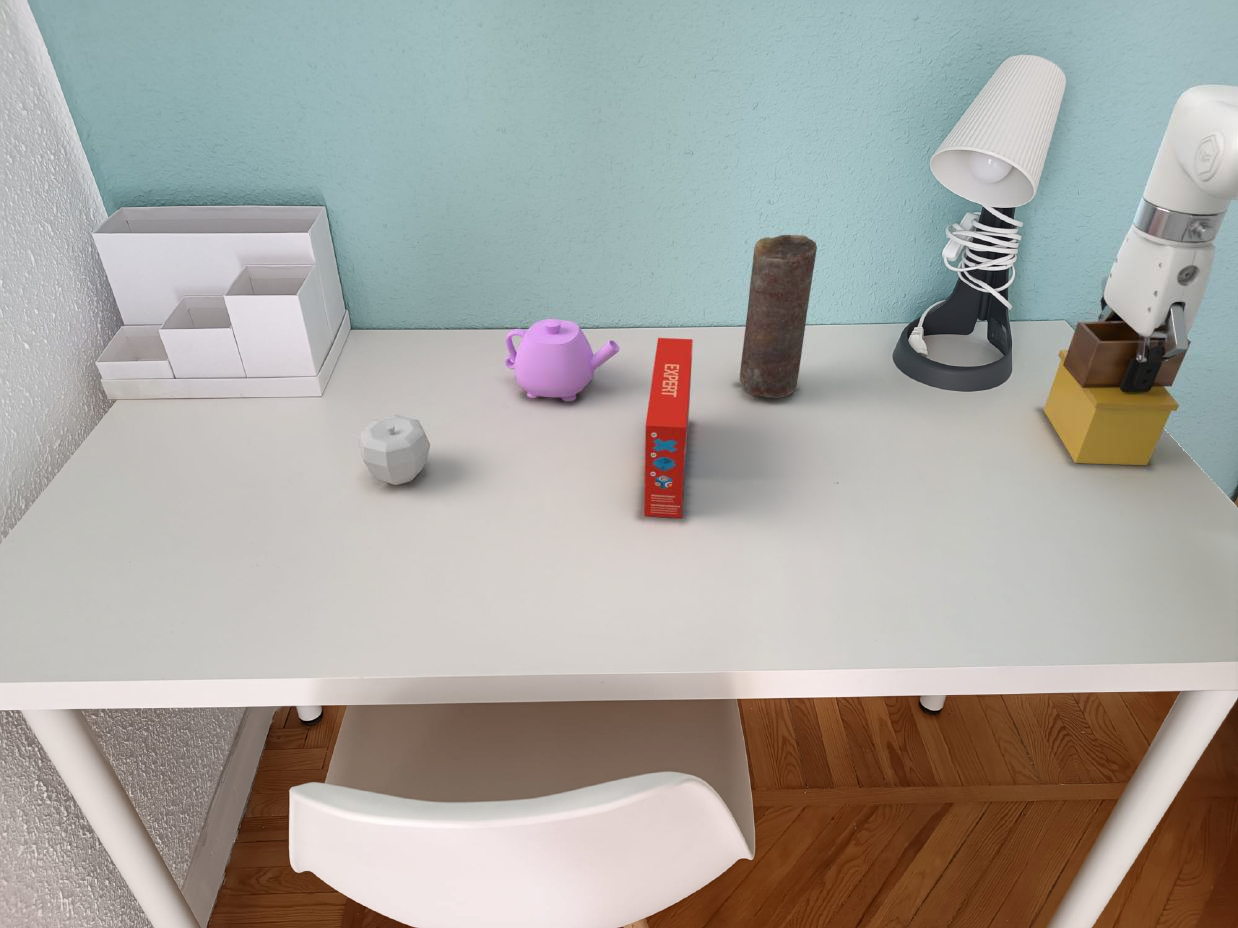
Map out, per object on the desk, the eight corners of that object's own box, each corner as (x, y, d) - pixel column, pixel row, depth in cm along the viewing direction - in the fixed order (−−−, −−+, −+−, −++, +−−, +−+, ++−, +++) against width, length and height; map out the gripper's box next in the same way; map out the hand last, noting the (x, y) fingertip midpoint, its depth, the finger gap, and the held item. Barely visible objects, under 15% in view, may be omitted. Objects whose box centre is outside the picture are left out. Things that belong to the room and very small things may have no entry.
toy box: (655, 421, 106) (657, 337, 100) (688, 423, 106) (692, 339, 99) (644, 516, 92) (645, 425, 85) (681, 518, 92) (686, 427, 85)
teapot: (518, 362, 118) (512, 299, 113) (626, 372, 116) (626, 308, 110) (495, 402, 110) (488, 337, 105) (611, 414, 108) (610, 348, 102)
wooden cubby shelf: (1148, 364, 101) (1166, 320, 97) (1171, 386, 97) (1191, 341, 93) (1062, 365, 100) (1077, 321, 97) (1082, 388, 96) (1098, 343, 93)
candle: (800, 406, 109) (822, 255, 97) (741, 406, 109) (756, 255, 97) (791, 375, 115) (811, 229, 103) (736, 375, 115) (749, 229, 103)
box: (1151, 467, 99) (1179, 404, 94) (1073, 464, 99) (1097, 402, 94) (1111, 411, 108) (1134, 351, 103) (1040, 409, 108) (1060, 349, 103)
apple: (372, 454, 101) (361, 407, 97) (440, 453, 101) (432, 406, 97) (357, 498, 95) (345, 448, 91) (429, 496, 95) (421, 447, 91)
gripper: (1268, 253, 81) (1193, 415, 91) (1168, 189, 95) (1113, 336, 105) (1188, 255, 81) (1122, 416, 91) (1100, 190, 95) (1052, 337, 105)
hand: (1118, 372), depth 98 cm, fingers open, 6 cm apart
